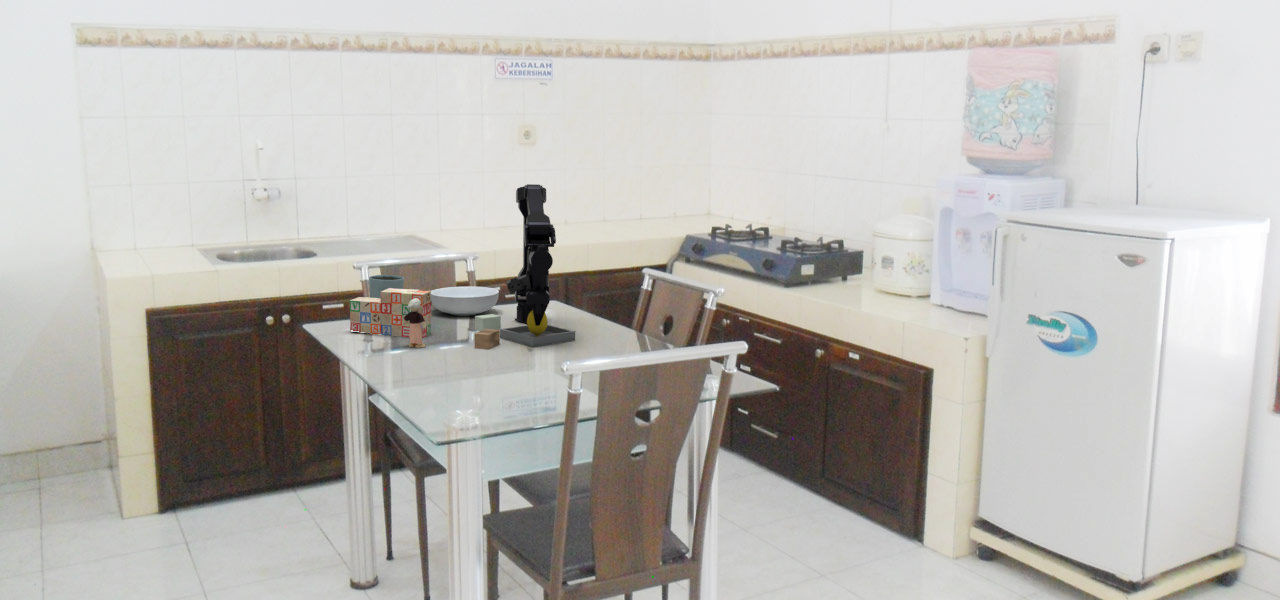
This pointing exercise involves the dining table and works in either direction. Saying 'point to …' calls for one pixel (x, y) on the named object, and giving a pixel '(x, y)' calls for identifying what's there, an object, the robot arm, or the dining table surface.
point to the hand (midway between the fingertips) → (537, 323)
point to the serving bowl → (464, 300)
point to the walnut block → (487, 339)
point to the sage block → (488, 322)
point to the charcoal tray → (529, 339)
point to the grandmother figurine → (415, 324)
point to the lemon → (532, 327)
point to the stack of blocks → (389, 312)
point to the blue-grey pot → (384, 284)
